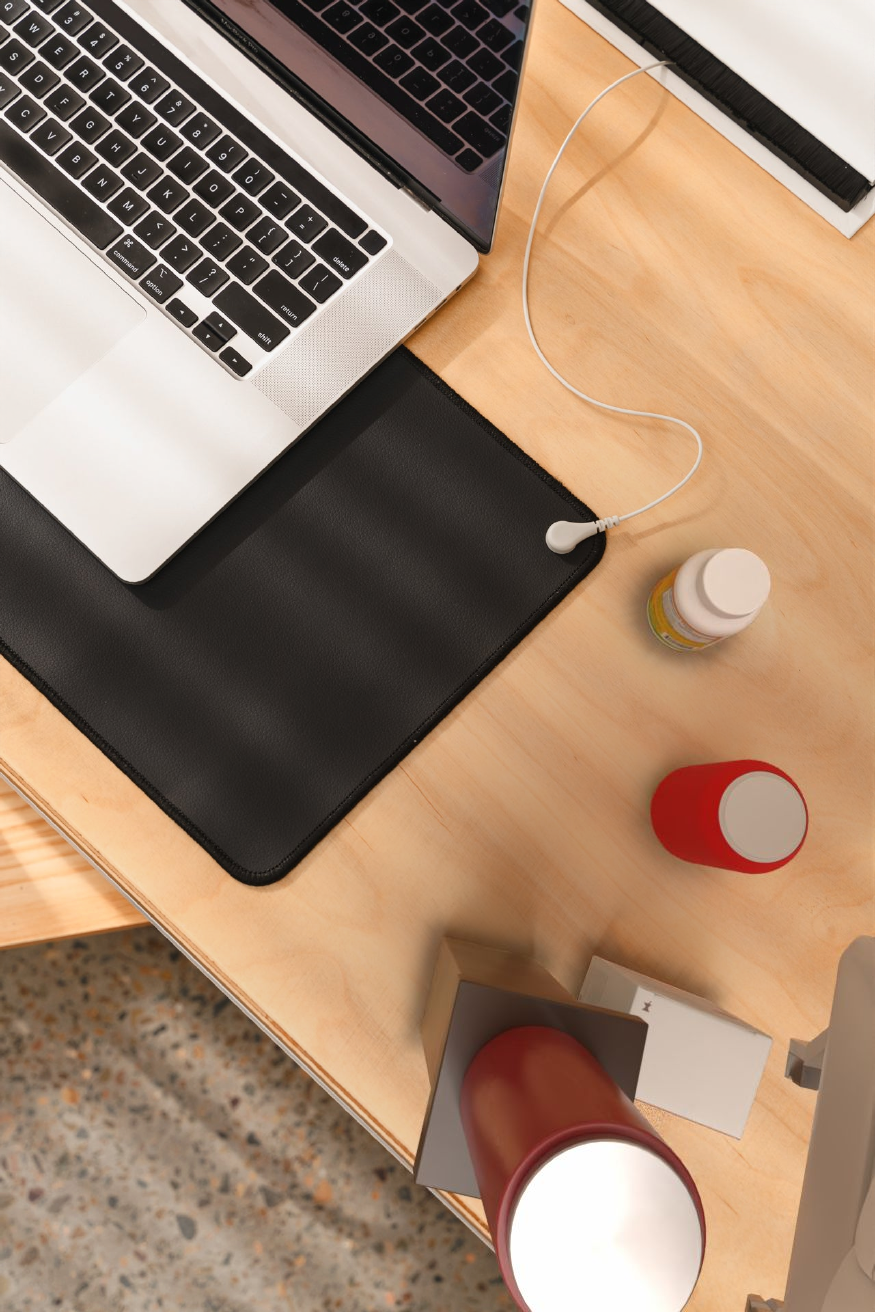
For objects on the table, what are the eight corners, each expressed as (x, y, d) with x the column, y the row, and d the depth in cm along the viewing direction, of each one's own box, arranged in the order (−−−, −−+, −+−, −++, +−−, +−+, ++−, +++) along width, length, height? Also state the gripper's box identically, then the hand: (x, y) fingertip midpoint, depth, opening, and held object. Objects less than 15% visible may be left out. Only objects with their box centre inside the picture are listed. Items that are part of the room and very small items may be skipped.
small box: (561, 1038, 61) (599, 1088, 50) (592, 952, 62) (635, 983, 51) (680, 1086, 61) (743, 1145, 50) (709, 999, 62) (777, 1039, 51)
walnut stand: (553, 945, 62) (649, 1024, 40) (526, 1075, 60) (609, 1230, 39) (430, 916, 61) (459, 979, 40) (400, 1046, 60) (413, 1185, 38)
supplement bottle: (709, 564, 66) (765, 524, 56) (735, 639, 65) (796, 612, 56) (634, 585, 65) (678, 548, 56) (659, 662, 65) (709, 638, 55)
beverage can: (671, 878, 63) (739, 896, 51) (629, 789, 63) (687, 786, 51) (754, 838, 63) (841, 847, 51) (712, 750, 64) (788, 739, 52)
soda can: (621, 1043, 40) (732, 1155, 27) (590, 1198, 39) (691, 1386, 26) (477, 1010, 39) (524, 1106, 27) (444, 1164, 39) (475, 1337, 26)
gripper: (1086, 1929, 22) (817, 1500, 36) (1185, 1017, 25) (903, 941, 39) (820, 1872, 22) (651, 1463, 36) (953, 961, 25) (752, 905, 39)
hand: (784, 1186), depth 37 cm, fingers open, 8 cm apart
